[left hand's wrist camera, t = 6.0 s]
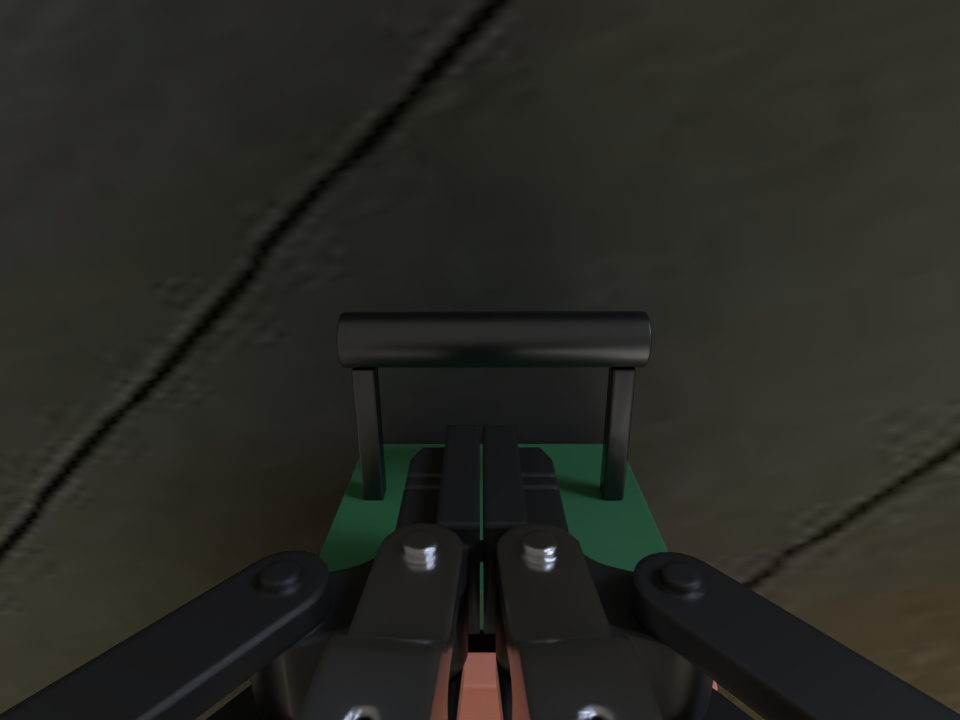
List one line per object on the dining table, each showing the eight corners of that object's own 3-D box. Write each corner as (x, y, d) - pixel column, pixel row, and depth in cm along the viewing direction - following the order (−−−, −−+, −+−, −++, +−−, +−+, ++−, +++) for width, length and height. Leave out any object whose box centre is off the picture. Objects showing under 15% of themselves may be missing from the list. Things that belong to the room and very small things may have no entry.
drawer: (350, 285, 18) (270, 367, 11) (634, 284, 18) (722, 366, 11) (386, 702, 24) (349, 910, 17) (596, 703, 24) (638, 912, 17)
